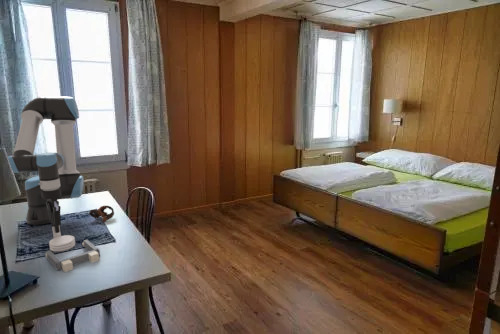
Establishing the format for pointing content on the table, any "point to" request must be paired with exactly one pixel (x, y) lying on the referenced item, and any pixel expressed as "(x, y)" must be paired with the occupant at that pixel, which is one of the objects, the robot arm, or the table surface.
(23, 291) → the table surface
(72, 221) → the table surface
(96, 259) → the grey u-shaped frame
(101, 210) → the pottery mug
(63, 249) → the white round disc
